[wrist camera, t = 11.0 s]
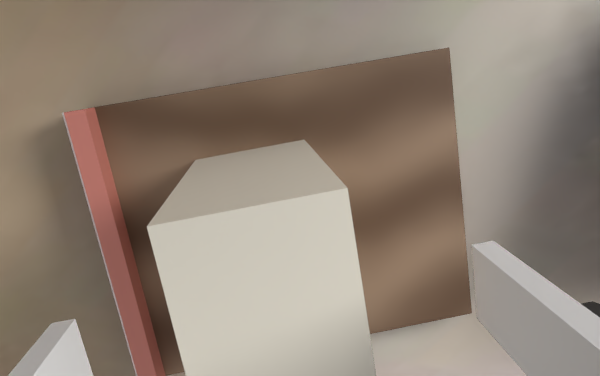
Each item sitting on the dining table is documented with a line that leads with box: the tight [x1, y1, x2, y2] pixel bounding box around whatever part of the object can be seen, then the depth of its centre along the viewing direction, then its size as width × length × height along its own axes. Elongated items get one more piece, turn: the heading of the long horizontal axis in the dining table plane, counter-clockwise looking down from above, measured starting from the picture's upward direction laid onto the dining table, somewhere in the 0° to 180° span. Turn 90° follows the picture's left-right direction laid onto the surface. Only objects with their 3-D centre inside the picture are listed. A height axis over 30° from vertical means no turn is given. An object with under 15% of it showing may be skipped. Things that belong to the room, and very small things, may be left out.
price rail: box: [62, 107, 166, 376], centre depth 25 cm, size 16×1×2 cm, turn 10°
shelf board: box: [95, 48, 472, 375], centre depth 27 cm, size 16×20×2 cm
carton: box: [147, 140, 376, 376], centre depth 21 cm, size 6×9×12 cm
